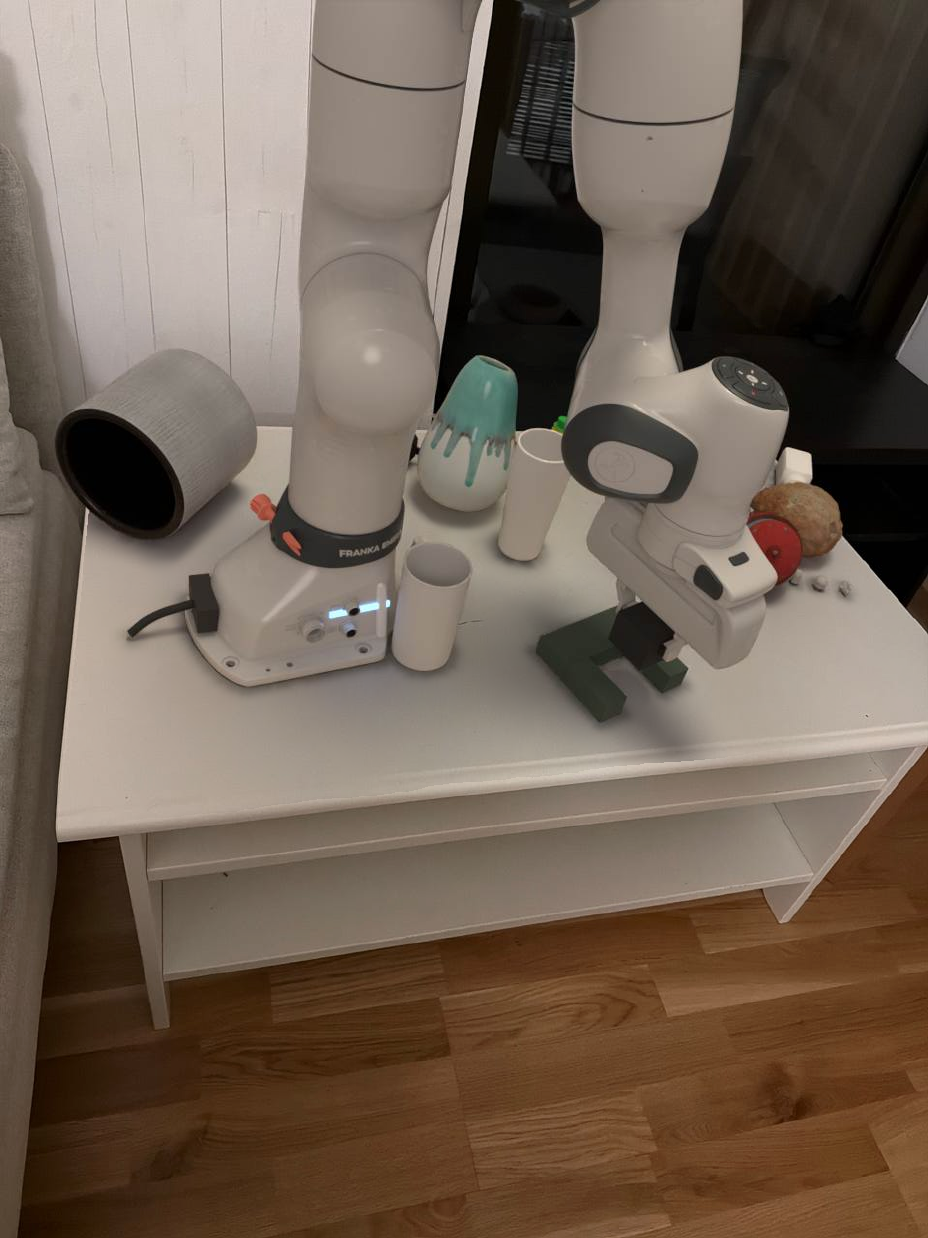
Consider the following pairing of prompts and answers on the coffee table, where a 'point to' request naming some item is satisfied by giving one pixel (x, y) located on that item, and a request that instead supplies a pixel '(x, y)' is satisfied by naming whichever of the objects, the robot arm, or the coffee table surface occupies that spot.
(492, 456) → the vase
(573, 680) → the u-shaped block
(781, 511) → the dinner roll
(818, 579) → the game pieces
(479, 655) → the coffee table surface
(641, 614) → the black matte cube
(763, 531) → the gadget
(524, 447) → the drinking glass
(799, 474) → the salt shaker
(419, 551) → the mug
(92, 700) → the coffee table surface
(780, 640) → the coffee table surface
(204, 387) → the planter
